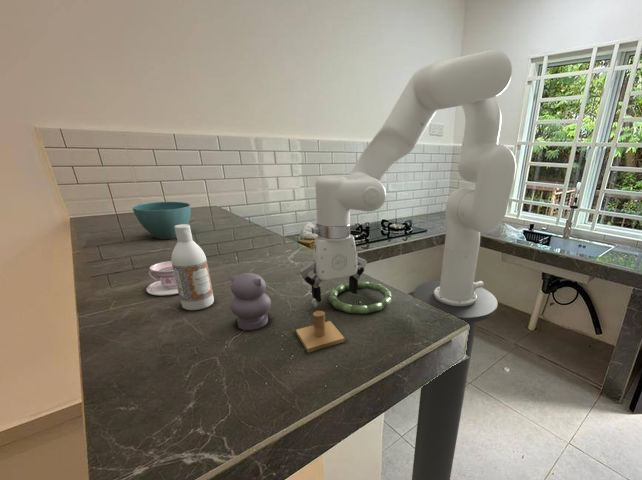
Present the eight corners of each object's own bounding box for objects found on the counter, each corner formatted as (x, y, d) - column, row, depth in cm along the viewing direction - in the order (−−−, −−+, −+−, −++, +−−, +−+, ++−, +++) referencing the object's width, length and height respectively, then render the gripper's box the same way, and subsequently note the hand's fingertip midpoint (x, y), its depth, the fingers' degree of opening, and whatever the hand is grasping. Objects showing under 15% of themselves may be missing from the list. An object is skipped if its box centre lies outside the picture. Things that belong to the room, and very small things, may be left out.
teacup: (201, 276, 96) (197, 256, 93) (197, 292, 86) (192, 271, 83) (151, 281, 91) (146, 260, 88) (141, 299, 81) (135, 277, 79)
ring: (372, 282, 98) (372, 276, 97) (403, 305, 85) (403, 299, 85) (320, 293, 89) (319, 287, 89) (345, 321, 77) (344, 313, 76)
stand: (330, 324, 75) (329, 301, 73) (344, 341, 69) (344, 317, 67) (296, 333, 71) (293, 309, 69) (307, 352, 65) (306, 327, 62)
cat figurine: (279, 316, 77) (274, 269, 72) (261, 334, 70) (254, 283, 65) (246, 311, 78) (240, 265, 74) (225, 328, 71) (216, 278, 66)
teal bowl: (134, 235, 128) (126, 204, 123) (186, 228, 141) (180, 199, 136) (149, 246, 117) (140, 212, 112) (203, 237, 130) (197, 206, 125)
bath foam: (194, 313, 76) (176, 231, 68) (175, 306, 79) (156, 226, 71) (220, 302, 82) (206, 225, 74) (202, 295, 84) (187, 220, 77)
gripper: (302, 239, 68) (307, 309, 75) (374, 231, 77) (372, 294, 84) (292, 230, 74) (297, 296, 81) (359, 223, 83) (359, 284, 90)
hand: (335, 295), depth 82 cm, fingers open, 9 cm apart
